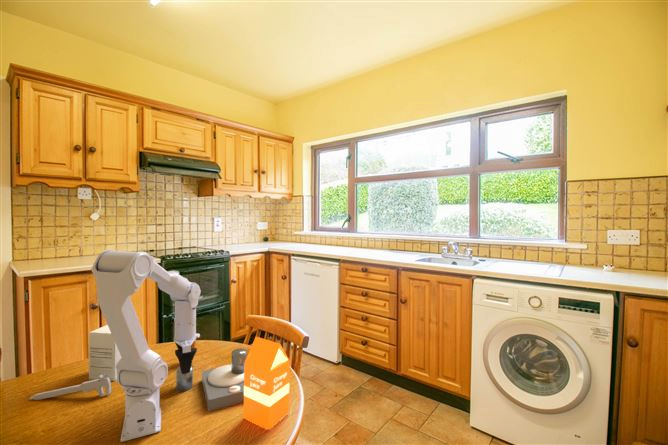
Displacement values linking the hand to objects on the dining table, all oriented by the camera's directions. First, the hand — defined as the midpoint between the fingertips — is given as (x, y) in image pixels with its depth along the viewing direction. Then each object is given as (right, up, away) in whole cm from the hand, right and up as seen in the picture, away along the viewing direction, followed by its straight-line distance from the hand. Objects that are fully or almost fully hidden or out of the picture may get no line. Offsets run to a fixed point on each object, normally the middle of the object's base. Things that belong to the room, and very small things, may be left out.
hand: (184, 366), depth 93 cm
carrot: (-7, -6, +16) cm, 18 cm away
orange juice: (+27, -7, -12) cm, 31 cm away
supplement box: (-27, -6, +7) cm, 28 cm away
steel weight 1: (0, -6, 0) cm, 6 cm away
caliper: (-29, -6, -6) cm, 30 cm away
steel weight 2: (+15, -3, +3) cm, 16 cm away
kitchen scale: (+14, -7, 0) cm, 15 cm away
